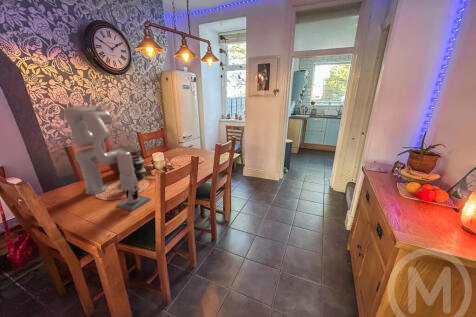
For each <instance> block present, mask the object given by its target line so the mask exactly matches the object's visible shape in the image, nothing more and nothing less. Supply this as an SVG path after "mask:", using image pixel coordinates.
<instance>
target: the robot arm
mask: <svg viewBox="0 0 476 317" xmlns="http://www.w3.org/2000/svg"><path fill="white" fill-rule="evenodd" d="M63 117H64V119H65V121H66V122H67V124H68V125H69V127H70V132H71V135H72V139H73V142H74V144H75V146H76V147H78V148H82V149H78V150H77V151H75V153H74V157H75V160H76V161H77V164H78V165H79V168H80V170H81V173H82V176H83V180H84V184H85V188H86V190H84V193H85V194H86V195H96V194H100V193H102V192H104V191H106V190H107V188H108V187H107V185H105V184H104V182H103V178H102V174H101V171H100V167H99V165H98V164H96V163H95V161H98V162H99V163H100V164H101V165H102V166H109V165H111V164H114V163H118V167H119V171H120V175H119V183H120V187H121V189H122V190H124V192H125V196H126V199H128V194H129V191H132V193H133V194H132V195H133V200H135V199H137V198H138V195H139V191H140V190H141V188H140V187H138V186H139V181H138V180H137V178H136V175H135V172H134V167H133V162H132V157H131V153H130V152H131V151H126V150H124V149H122V148H118V149H115V150H109V151H107V149H106V148H107V147H106V143H105V141H106V140H107V139H108V138H109V137H111V135H112V133H111V131H110V130H109V128H108V126H107V125H110V124H112V123H113V120H114V119H113V116H112V115H111V114H110V112H108V111H107V110H105V109H103V108H101V107H99V106H94V105H89V106H88V105H87V106H68V107H66V108H65V109H63Z"/></svg>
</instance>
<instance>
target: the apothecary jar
mask: <svg viewBox="0 0 476 317" xmlns="http://www.w3.org/2000/svg"><path fill="white" fill-rule="evenodd" d="M132 162H133V167H134V168H135V171H136V172H137V181H138V180H143V179H145V177H146V175H145V173H146V171H147V170H146V169H145V167H144V163H145V160H144V158H142V156H141V155H139V156H133V157H132Z"/></svg>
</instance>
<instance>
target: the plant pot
mask: <svg viewBox="0 0 476 317" xmlns="http://www.w3.org/2000/svg"><path fill="white" fill-rule="evenodd" d="M129 152H130V153H131V157H133V156H140V153H138V152H134V151H133V152H132V151H129ZM108 166H109V168H110V170H111V171H112V172H113V173H114V174H115V175H117V176H120V171H119V167H118V163H114V164H111V165H108Z"/></svg>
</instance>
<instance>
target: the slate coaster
mask: <svg viewBox="0 0 476 317" xmlns="http://www.w3.org/2000/svg"><path fill="white" fill-rule="evenodd" d="M138 197H139V201H138V202H136V203H132V204H129V203H127V200H128V198H126V199H125V200H122V201H121V202H119V203H118V204H116V205H115V207H117V208H120V209H123V210H127V211H129V212H134V211H136V210H137V209H138V208H140V207H142V206H143V205H145V204H147V203H148V202H149V201H151V200H152V199H151V198H150V197H146V196H142V195H140V194H138Z"/></svg>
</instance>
